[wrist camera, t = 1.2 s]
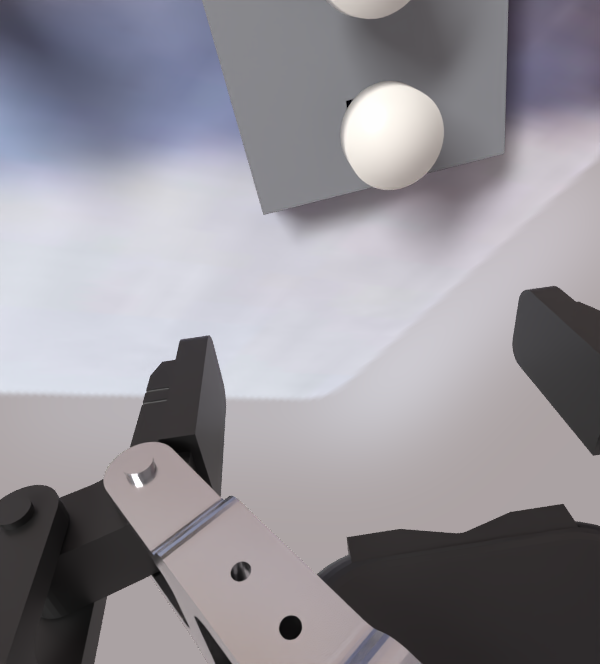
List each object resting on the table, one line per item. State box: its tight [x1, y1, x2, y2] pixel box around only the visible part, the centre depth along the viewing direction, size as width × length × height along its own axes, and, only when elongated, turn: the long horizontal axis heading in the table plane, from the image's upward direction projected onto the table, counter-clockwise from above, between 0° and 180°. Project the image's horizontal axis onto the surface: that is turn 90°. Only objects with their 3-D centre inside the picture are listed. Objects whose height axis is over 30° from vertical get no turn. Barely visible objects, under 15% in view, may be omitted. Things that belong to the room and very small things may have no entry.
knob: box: [340, 81, 444, 190], centre depth 23 cm, size 4×4×5 cm
